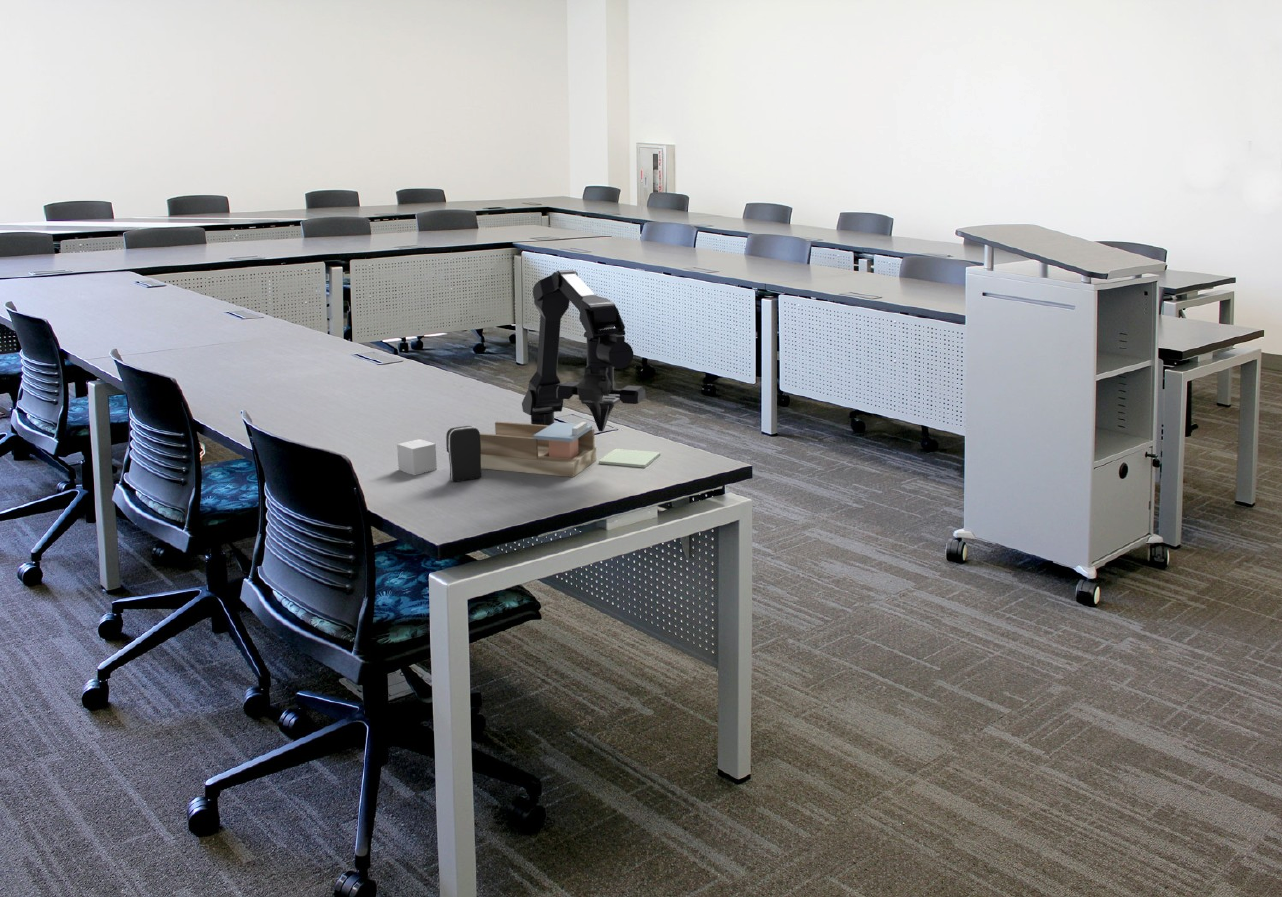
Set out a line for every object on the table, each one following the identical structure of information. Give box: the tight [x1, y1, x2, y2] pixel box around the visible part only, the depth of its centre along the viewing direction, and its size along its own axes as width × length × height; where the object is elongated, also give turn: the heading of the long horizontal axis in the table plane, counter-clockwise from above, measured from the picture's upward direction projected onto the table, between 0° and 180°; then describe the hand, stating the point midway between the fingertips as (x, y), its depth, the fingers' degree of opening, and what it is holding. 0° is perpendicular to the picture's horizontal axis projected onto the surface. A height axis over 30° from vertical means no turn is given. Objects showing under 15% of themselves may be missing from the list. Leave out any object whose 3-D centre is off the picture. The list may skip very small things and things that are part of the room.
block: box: [549, 438, 579, 459], centre depth 260 cm, size 5×5×7 cm
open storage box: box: [480, 420, 597, 478], centre depth 262 cm, size 14×24×8 cm, turn 71°
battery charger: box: [445, 425, 482, 482], centre depth 251 cm, size 7×4×11 cm, turn 120°
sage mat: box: [598, 448, 661, 469], centre depth 266 cm, size 11×11×1 cm
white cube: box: [396, 438, 438, 476], centre depth 258 cm, size 6×6×6 cm
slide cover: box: [533, 421, 593, 442], centre depth 259 cm, size 12×9×2 cm
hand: (601, 431), depth 256 cm, fingers closed
